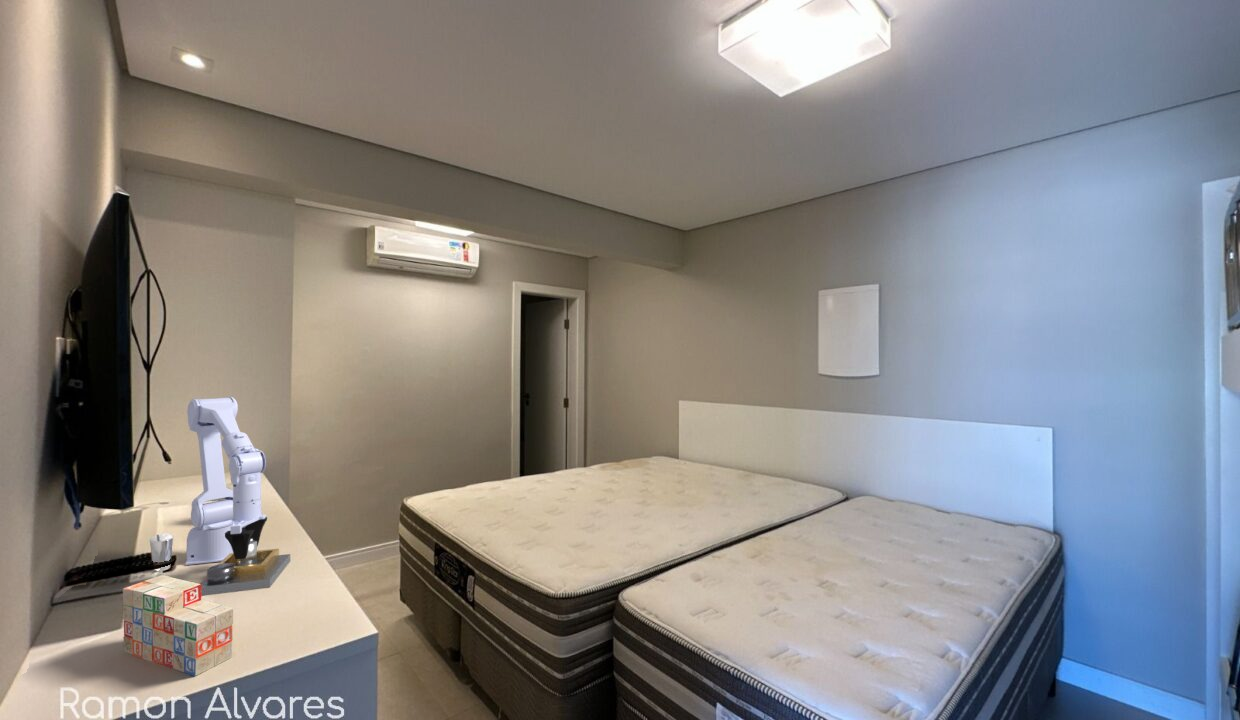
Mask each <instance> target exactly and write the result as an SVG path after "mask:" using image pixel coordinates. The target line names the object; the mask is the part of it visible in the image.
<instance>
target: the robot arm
mask: <svg viewBox="0 0 1240 720" xmlns="http://www.w3.org/2000/svg"><path fill="white" fill-rule="evenodd" d="M238 411H239V405H238V402H237V400H236V399H235V398H234V397H233V396H228V397H218V398H201V399H200V398H199V399H197V398H192V399H191V400H190V401H189V402H188V405H187V410H186V412H187V413H186V414H187V422H188V427H189V430H190V431H192V432H195V433H196V435H197V439H198V440H197V441H198V448H199V458H200V468H201V476H202V486H203V490H202V492H201V493H200V494H199V495H197V496H196V497H195V498H194V499H193V500H192V502H191V511H190V520H191V521H190V522H191V524H192V526H193V527H191V529H189V531H188V533H187V537H186V561H185V566H188V565H189V566H191V565H198V564H199V565H200V564H208V563H209V564H211V563H220V562H221V561H222V560H223V559H224V558H225V557H227V556H228V555H229V554H230V553H234V557H235V559H245V558H246V556H247V553H248V547H249V542H250V539H251V538H253V540H256V541H257V547H258V545H259V543H260V538H261V535H262V531H263V528H264V526H265V524H266V522H267V520H268V517H267V514H266V513H264V514H262V510H263V509H262V473H264V472H265V470H266V466H267V461H266V455H265V453H264V451H262V450H261V449H260V450H259V448H255V446H254V444H253V443H252V441H251V439H250V437H249V436H248V434H247V433H246V432H243V431H241V430H240V428H239V426H238V422H237V420H236V418H237V415H238ZM221 436H222V438H223V439H221ZM223 450H224V452H225V455H226V456H227V458H228V461H229V462H228V470H229V474H230V482H231V483H233V491H232V490H230V489H228V488H226V483H227V482H226V476H225V475H226V474H225V467H224V458H223ZM218 499H226V500H221V501H212V500H218Z"/></svg>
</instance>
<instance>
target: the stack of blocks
mask: <svg viewBox="0 0 1240 720" xmlns="http://www.w3.org/2000/svg"><path fill="white" fill-rule="evenodd" d="M201 585H202V584H201V583H197V582H193V581H188V580H183V579H179V578H175V577H171V576H169V575H164V574H162V575H161V574H160V575H159V576H154V577H151V578H149V579H146V580H144V581H141V582H138V583H135V584H131V585H130V586H126V587H123V588H122V601H123V603H122V609H123V610H122V612H123V613H122V618H123V637H122V638H123V652H125V653H128V654H131V655H133V656H135V657H138V658H140V659H143V660H145V661H148V662H152V663H157V664H159V665H162V666H165V667H168V668H171V669H173V670H176V671H179V672H180V673H181V672H182V673H184V674H187V675H189V676H190V675H191V676H193V677H196V676H199V675H200V674H202V673H205V672H206V671H208V670H210V669H212V668H213V667H216V666H218V665H220V664H222V663H225V662H226V661H227V660H229V659H231V658H232V657H233V624H234V607H230V606H226V605H222V604H219V603H217V602H211V601H208V600H204V599H203V600H202V596H201Z"/></svg>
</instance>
